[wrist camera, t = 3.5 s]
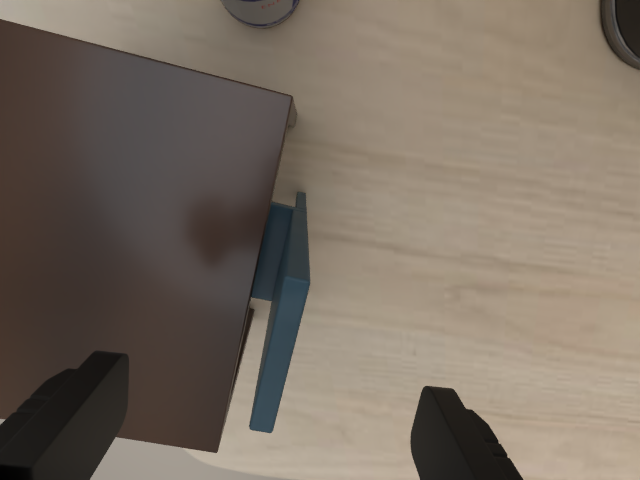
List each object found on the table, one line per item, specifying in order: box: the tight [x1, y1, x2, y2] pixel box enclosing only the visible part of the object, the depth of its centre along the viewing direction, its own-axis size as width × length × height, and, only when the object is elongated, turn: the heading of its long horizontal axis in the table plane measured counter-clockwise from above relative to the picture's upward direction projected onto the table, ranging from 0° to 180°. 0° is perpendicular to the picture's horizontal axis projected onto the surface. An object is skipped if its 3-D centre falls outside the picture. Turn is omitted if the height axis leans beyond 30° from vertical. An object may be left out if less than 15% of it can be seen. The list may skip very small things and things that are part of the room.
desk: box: [0, 19, 297, 453], centre depth 21 cm, size 12×16×13 cm
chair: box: [249, 192, 310, 433], centre depth 20 cm, size 6×6×17 cm
